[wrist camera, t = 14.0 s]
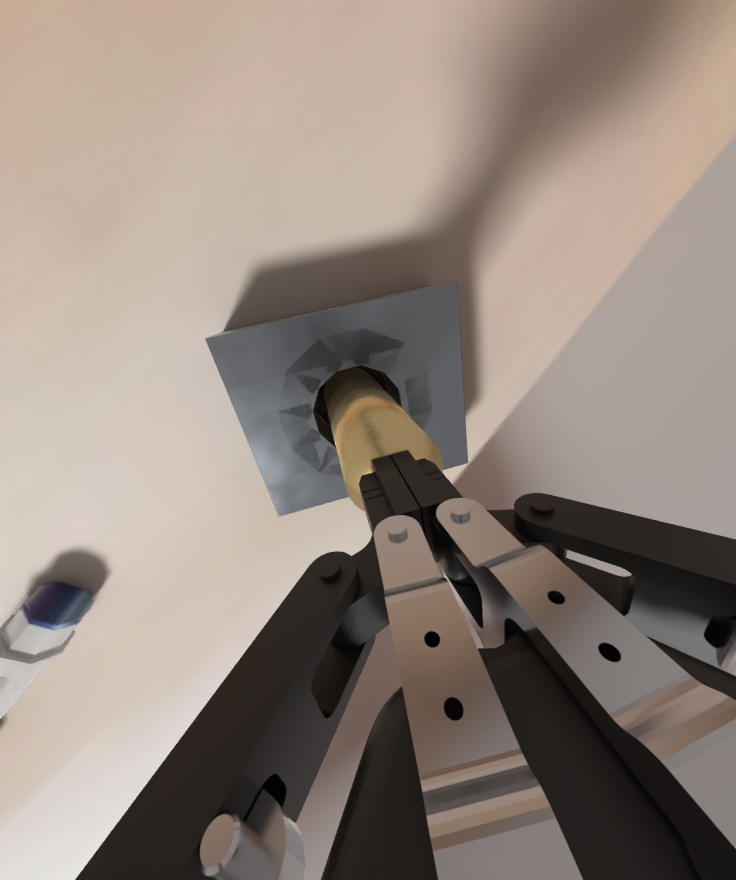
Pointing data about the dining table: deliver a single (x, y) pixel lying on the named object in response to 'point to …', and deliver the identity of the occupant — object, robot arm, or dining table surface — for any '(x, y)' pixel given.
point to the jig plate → (319, 357)
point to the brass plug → (370, 427)
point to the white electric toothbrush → (37, 636)
